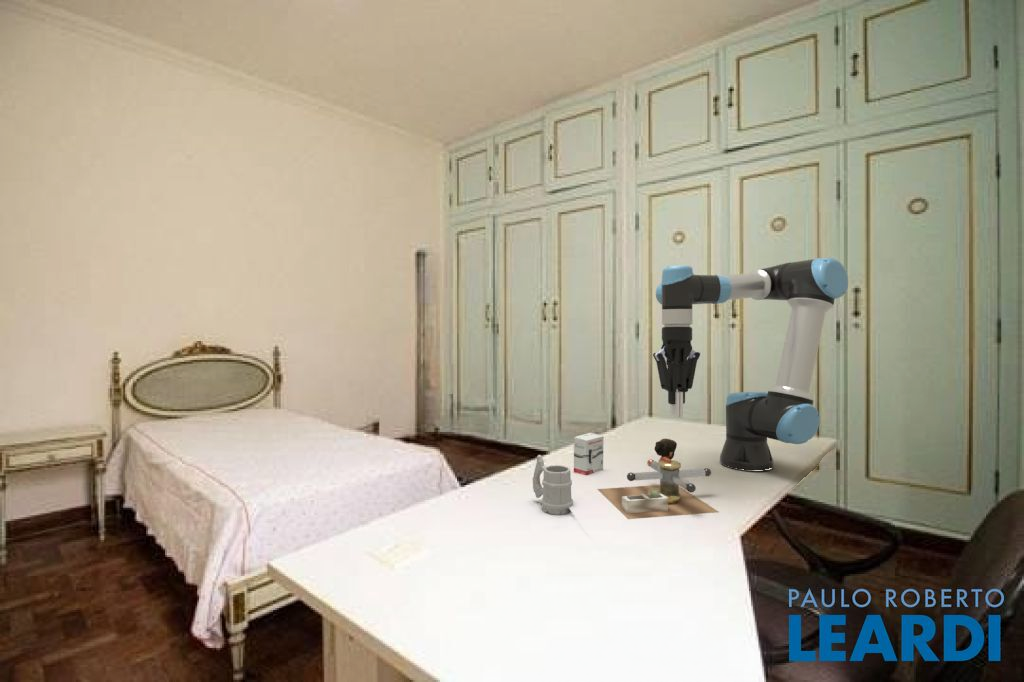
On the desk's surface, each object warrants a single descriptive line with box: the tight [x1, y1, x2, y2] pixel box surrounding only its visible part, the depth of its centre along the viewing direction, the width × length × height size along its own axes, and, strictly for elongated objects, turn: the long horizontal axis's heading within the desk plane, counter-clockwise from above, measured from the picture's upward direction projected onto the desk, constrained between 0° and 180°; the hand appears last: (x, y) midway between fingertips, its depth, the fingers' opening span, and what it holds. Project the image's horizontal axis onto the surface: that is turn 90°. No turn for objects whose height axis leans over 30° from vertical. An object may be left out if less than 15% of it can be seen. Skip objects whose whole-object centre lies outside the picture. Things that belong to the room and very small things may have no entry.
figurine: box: [654, 438, 678, 462], centre depth 137 cm, size 6×6×12 cm
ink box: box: [573, 432, 605, 476], centre depth 143 cm, size 8×5×12 cm, turn 134°
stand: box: [597, 484, 720, 520], centre depth 119 cm, size 22×20×6 cm
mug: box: [532, 454, 574, 516], centre depth 118 cm, size 8×12×12 cm, turn 43°
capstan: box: [626, 457, 712, 503], centre depth 119 cm, size 22×22×9 cm
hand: (676, 416), depth 126 cm, fingers closed
